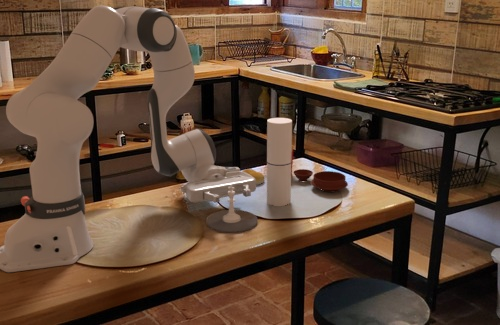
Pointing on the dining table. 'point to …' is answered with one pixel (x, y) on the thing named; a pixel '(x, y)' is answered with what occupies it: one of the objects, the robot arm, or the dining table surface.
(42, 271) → the dining table surface
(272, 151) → the cylindrical container
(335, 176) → the pottery
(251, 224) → the charcoal plate
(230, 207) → the chess piece
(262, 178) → the bread roll
